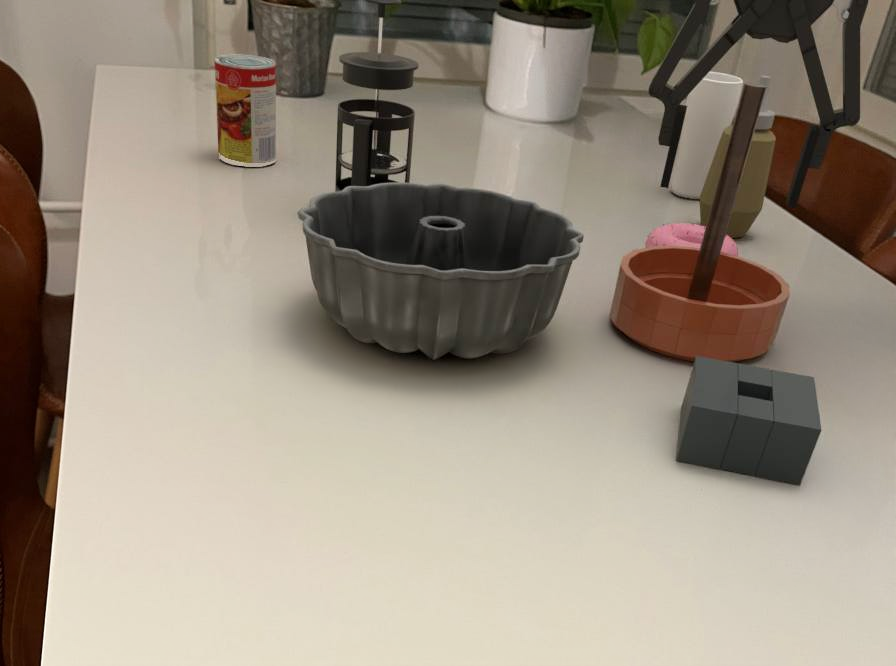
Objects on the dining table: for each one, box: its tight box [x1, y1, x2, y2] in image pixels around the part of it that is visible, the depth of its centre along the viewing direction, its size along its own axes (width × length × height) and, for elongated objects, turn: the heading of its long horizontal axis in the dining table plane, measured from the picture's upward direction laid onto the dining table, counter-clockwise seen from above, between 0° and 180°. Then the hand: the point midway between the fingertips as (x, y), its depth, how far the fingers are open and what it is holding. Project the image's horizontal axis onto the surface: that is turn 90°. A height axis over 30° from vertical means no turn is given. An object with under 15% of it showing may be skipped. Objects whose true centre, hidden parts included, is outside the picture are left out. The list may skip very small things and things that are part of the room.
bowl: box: [609, 246, 791, 363], centre depth 100 cm, size 17×17×6 cm
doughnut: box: [644, 222, 740, 257], centre depth 115 cm, size 11×11×4 cm
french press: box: [334, 0, 419, 192], centre depth 114 cm, size 12×9×23 cm
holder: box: [675, 356, 822, 486], centre depth 82 cm, size 10×10×5 cm
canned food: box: [214, 53, 277, 163], centre depth 132 cm, size 8×8×12 cm
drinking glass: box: [670, 71, 744, 200], centre depth 136 cm, size 7×7×15 cm
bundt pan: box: [297, 181, 585, 361], centre depth 94 cm, size 26×26×10 cm
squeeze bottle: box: [699, 75, 777, 239], centre depth 123 cm, size 8×8×18 cm
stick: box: [687, 81, 767, 302], centre depth 94 cm, size 2×2×22 cm
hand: (727, 193), depth 93 cm, fingers open, 11 cm apart
